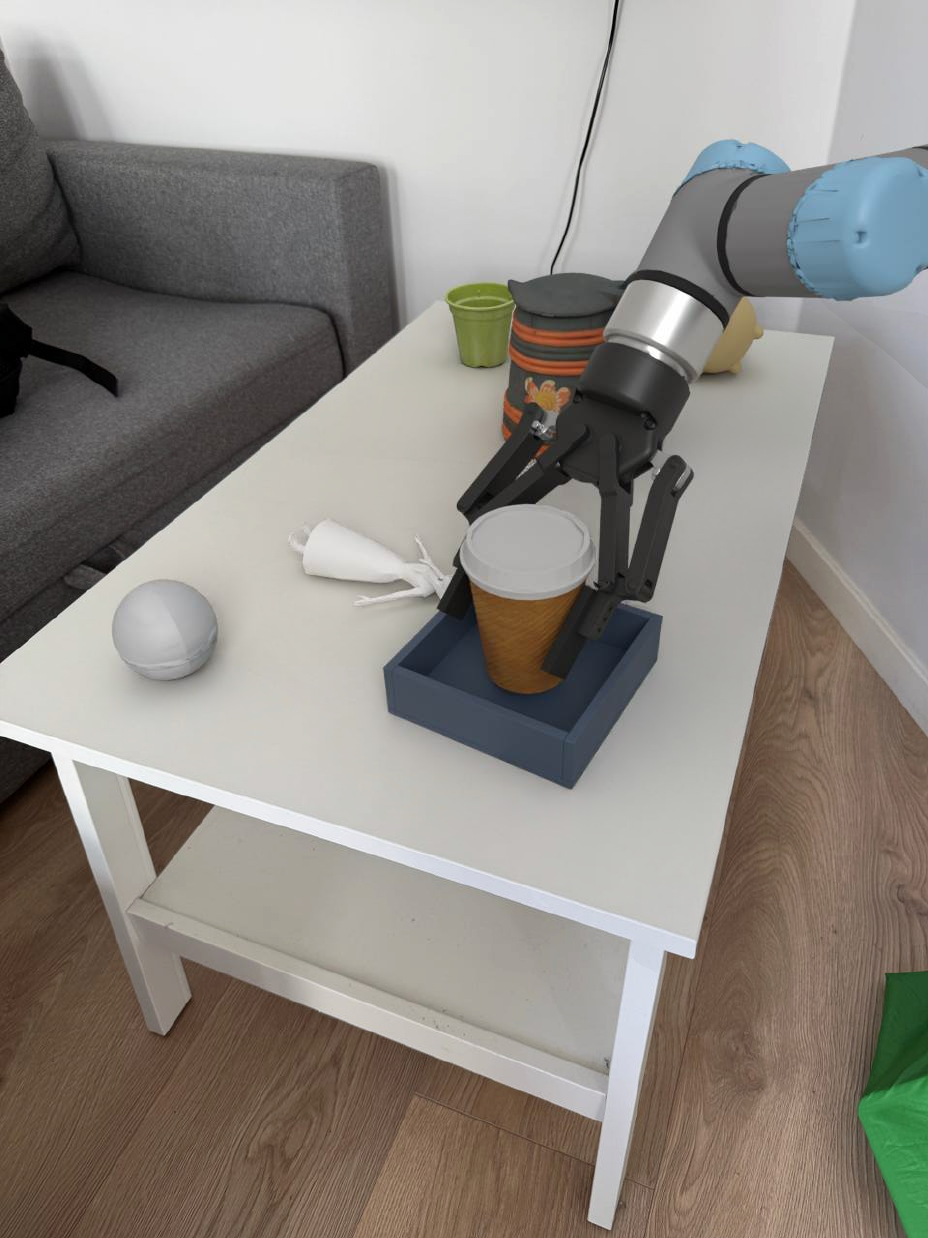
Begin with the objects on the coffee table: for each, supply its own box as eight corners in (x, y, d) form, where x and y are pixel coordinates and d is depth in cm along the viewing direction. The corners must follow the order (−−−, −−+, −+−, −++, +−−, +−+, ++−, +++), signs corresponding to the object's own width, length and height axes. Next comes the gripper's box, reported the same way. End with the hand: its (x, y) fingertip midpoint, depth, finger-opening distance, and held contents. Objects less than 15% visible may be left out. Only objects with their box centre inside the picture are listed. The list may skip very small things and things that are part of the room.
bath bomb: (244, 645, 77) (225, 567, 72) (194, 709, 71) (170, 630, 66) (161, 629, 79) (137, 552, 74) (107, 690, 73) (77, 612, 68)
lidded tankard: (678, 416, 107) (701, 238, 94) (656, 477, 96) (678, 286, 83) (522, 397, 112) (523, 226, 99) (485, 453, 101) (481, 270, 89)
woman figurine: (328, 487, 88) (500, 538, 82) (331, 525, 91) (497, 577, 85) (257, 551, 80) (442, 612, 74) (263, 591, 82) (442, 652, 77)
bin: (657, 660, 74) (663, 615, 71) (571, 790, 63) (574, 744, 61) (489, 603, 80) (489, 560, 77) (387, 712, 70) (382, 667, 67)
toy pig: (690, 380, 122) (636, 331, 118) (760, 310, 117) (705, 256, 113) (711, 411, 114) (653, 359, 110) (786, 337, 109) (729, 280, 105)
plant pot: (481, 380, 116) (479, 313, 111) (433, 360, 122) (429, 294, 116) (533, 359, 121) (534, 293, 116) (485, 340, 127) (483, 276, 121)
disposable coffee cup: (585, 714, 66) (594, 581, 59) (456, 704, 68) (448, 572, 60) (591, 631, 74) (600, 503, 66) (474, 623, 75) (470, 497, 67)
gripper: (800, 431, 62) (643, 722, 63) (549, 349, 74) (421, 594, 75) (775, 383, 56) (601, 707, 57) (505, 303, 68) (366, 571, 69)
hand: (498, 643), depth 66 cm, fingers closed on disposable coffee cup, 9 cm apart
